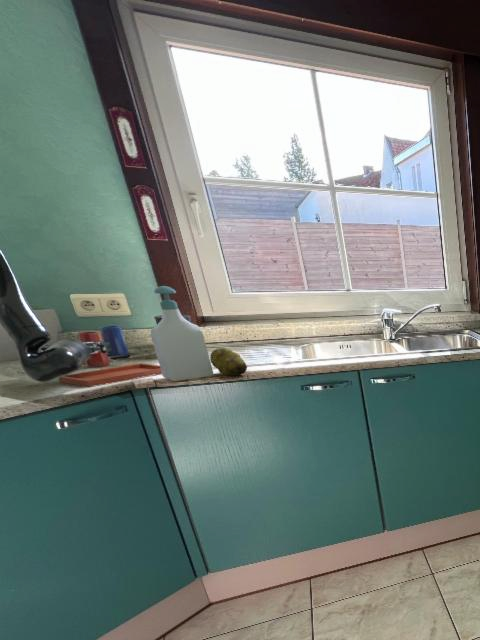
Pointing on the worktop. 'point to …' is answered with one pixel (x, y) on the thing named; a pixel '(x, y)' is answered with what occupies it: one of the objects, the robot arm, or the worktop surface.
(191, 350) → the soap bottle
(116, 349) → the blue cup
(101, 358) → the red cup
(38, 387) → the worktop surface
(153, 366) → the tray
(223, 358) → the green oval piece
